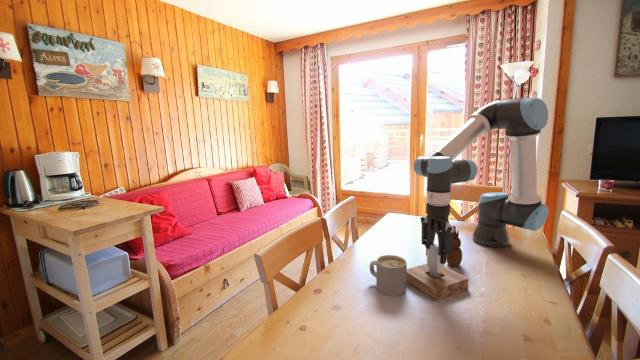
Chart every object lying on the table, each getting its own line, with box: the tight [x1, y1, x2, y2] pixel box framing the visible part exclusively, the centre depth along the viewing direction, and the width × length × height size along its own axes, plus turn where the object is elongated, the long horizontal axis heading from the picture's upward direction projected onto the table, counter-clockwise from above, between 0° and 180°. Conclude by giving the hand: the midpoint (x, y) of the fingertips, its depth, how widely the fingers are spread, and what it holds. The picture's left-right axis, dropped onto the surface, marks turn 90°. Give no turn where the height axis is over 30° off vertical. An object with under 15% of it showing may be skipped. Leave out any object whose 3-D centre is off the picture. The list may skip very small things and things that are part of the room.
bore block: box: [406, 263, 469, 302], centre depth 109 cm, size 15×15×4 cm
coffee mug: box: [369, 254, 408, 297], centre depth 108 cm, size 13×10×10 cm
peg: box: [429, 243, 441, 279], centre depth 107 cm, size 4×4×12 cm
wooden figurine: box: [446, 229, 463, 268], centre depth 122 cm, size 7×6×15 cm
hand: (435, 268), depth 108 cm, fingers closed on peg, 4 cm apart
